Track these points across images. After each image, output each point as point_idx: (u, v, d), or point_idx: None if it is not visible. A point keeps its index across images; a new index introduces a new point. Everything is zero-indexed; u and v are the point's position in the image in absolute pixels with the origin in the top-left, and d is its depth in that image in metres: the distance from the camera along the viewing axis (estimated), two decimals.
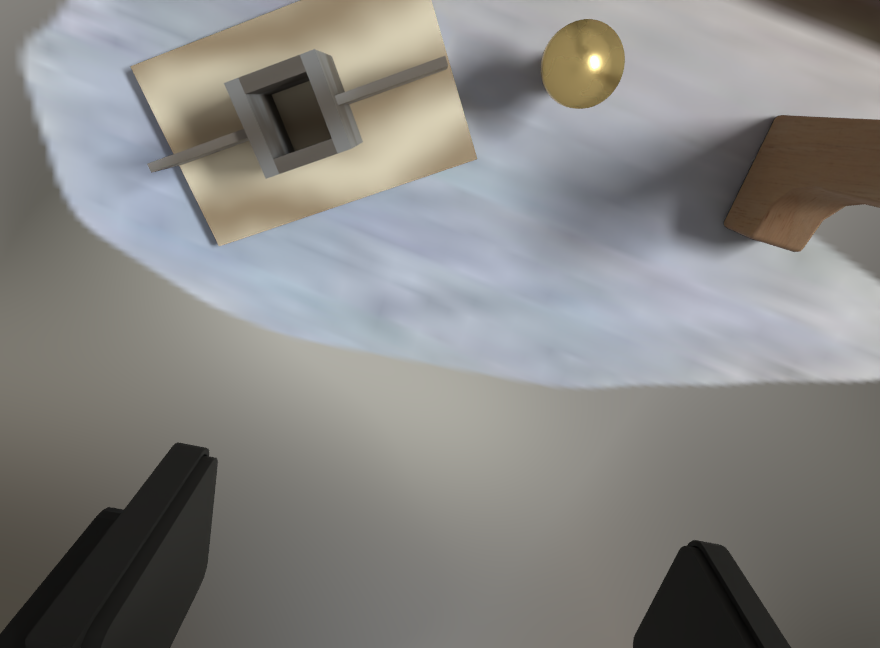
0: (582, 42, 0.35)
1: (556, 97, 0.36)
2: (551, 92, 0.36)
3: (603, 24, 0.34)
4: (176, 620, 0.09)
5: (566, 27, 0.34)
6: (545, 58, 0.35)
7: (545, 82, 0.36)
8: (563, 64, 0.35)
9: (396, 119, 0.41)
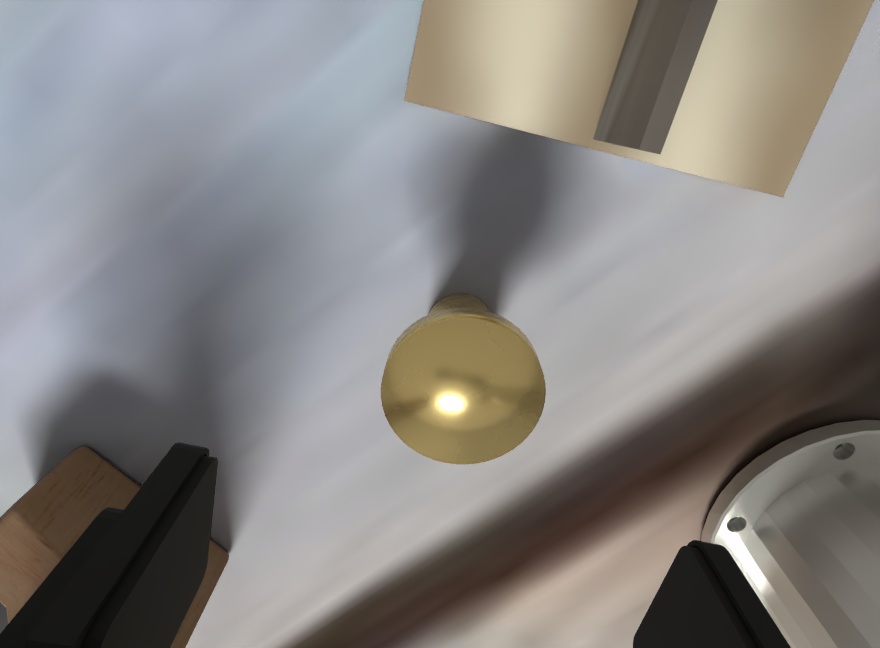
0: (501, 409, 0.17)
1: (437, 325, 0.16)
2: (452, 321, 0.16)
3: (505, 450, 0.18)
4: (176, 620, 0.09)
5: (542, 396, 0.17)
6: (518, 339, 0.17)
7: (476, 318, 0.16)
8: (486, 364, 0.17)
9: None
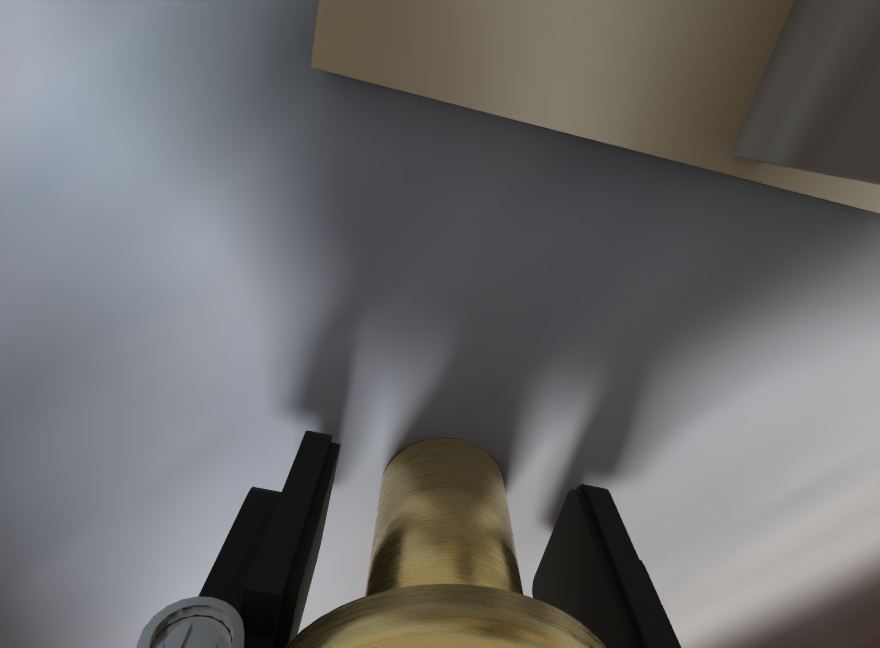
0: None
1: None
2: None
3: None
4: (308, 587, 0.11)
5: None
6: None
7: None
8: None
9: None
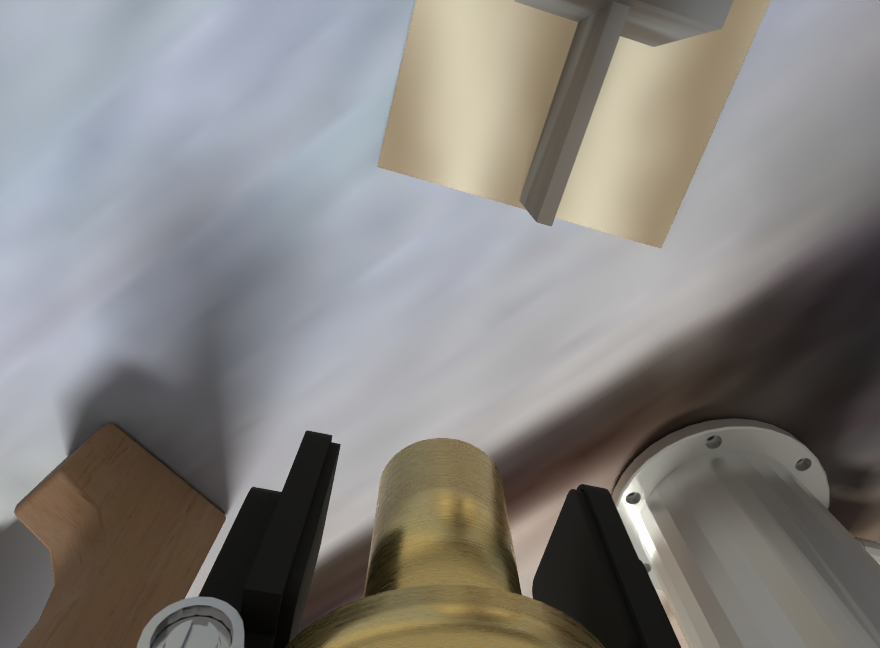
0: None
1: None
2: None
3: None
4: (308, 588, 0.11)
5: None
6: None
7: None
8: None
9: (508, 82, 0.24)
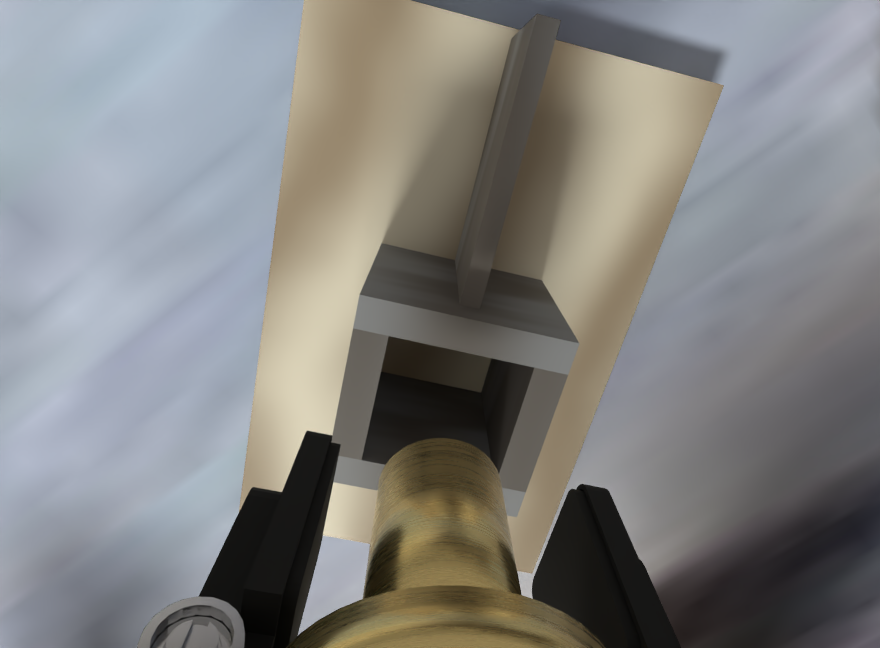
0: None
1: None
2: None
3: None
4: (308, 588, 0.11)
5: None
6: None
7: None
8: None
9: None
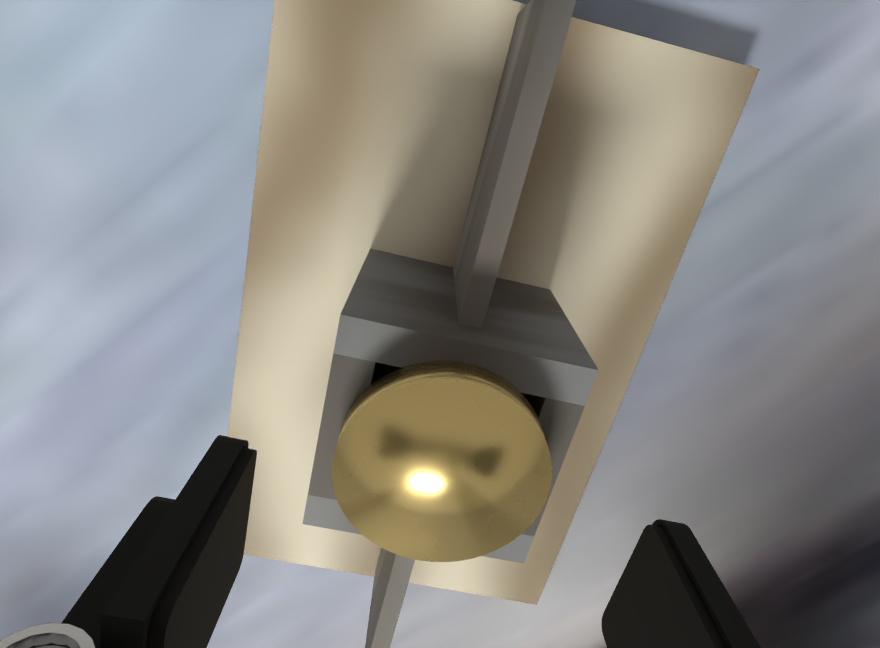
0: (493, 495, 0.13)
1: (405, 390, 0.12)
2: (425, 384, 0.12)
3: (499, 545, 0.14)
4: (219, 605, 0.10)
5: (548, 478, 0.13)
6: (515, 407, 0.12)
7: (458, 379, 0.12)
8: (473, 439, 0.12)
9: None
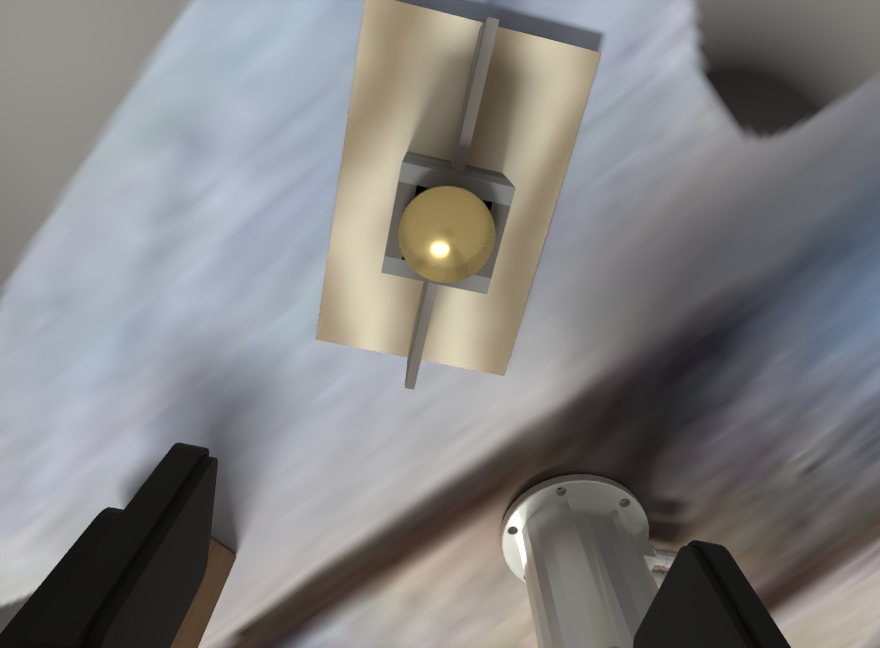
0: (469, 245, 0.29)
1: (431, 191, 0.28)
2: (439, 188, 0.28)
3: (473, 272, 0.30)
4: (176, 620, 0.09)
5: (493, 235, 0.29)
6: (477, 199, 0.28)
7: (453, 187, 0.28)
8: (460, 215, 0.29)
9: (391, 288, 0.38)
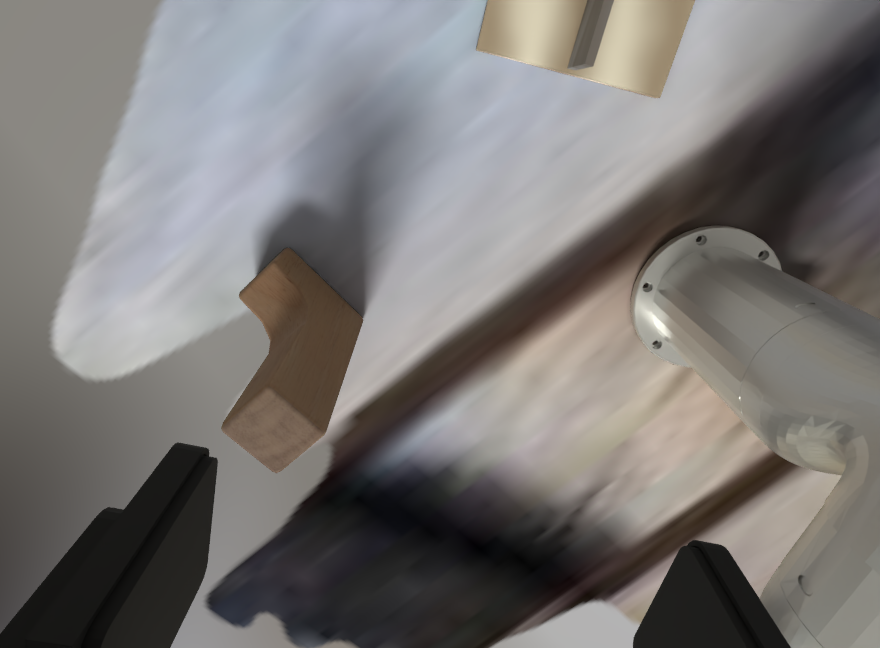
0: None
1: None
2: None
3: None
4: (176, 620, 0.09)
5: None
6: None
7: None
8: None
9: None
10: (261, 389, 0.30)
